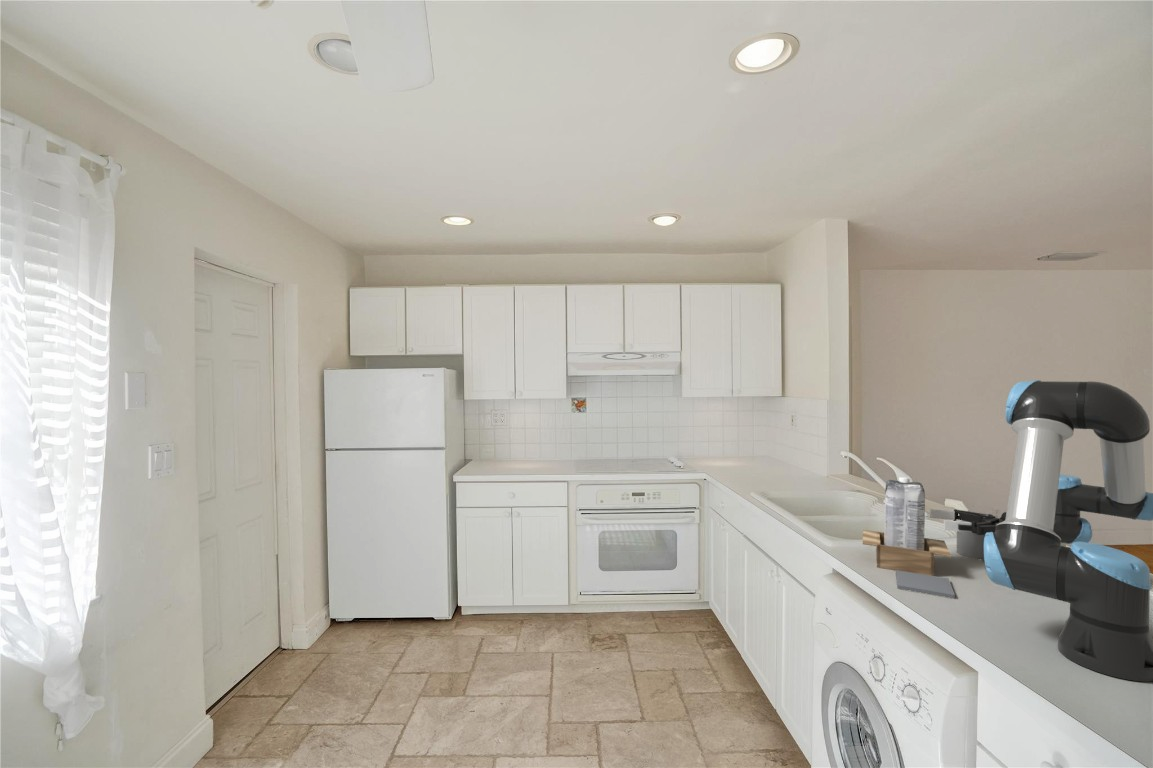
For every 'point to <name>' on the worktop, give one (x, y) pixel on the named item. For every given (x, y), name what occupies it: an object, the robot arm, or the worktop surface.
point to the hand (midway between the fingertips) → (936, 519)
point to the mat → (924, 583)
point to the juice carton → (904, 514)
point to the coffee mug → (970, 544)
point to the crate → (906, 554)
